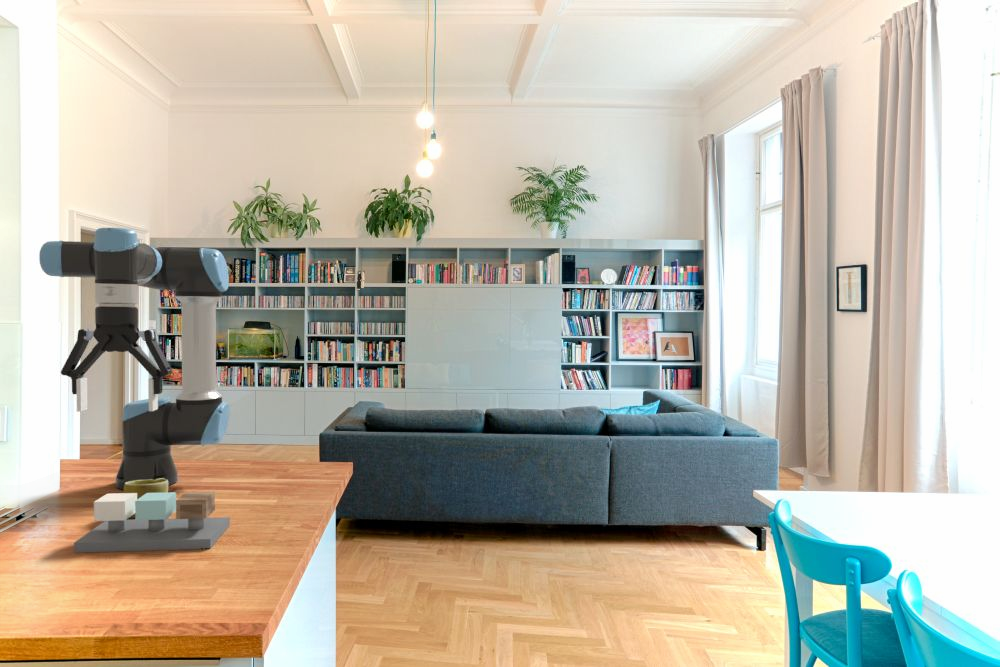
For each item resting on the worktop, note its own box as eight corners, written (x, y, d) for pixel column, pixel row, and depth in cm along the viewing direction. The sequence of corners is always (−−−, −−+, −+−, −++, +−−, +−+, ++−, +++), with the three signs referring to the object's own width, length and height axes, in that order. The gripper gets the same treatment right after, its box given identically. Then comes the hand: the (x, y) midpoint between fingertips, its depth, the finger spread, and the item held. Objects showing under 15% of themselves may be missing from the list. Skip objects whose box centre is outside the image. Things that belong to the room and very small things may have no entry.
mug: (151, 516, 150) (146, 472, 152) (114, 527, 152) (109, 483, 154) (190, 511, 162) (184, 470, 164) (154, 521, 164) (149, 480, 166)
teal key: (147, 511, 144) (146, 492, 144) (176, 510, 145) (176, 492, 145) (135, 520, 138) (135, 500, 138) (166, 519, 139) (165, 500, 139)
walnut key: (186, 510, 145) (185, 492, 145) (214, 509, 146) (214, 491, 146) (176, 519, 139) (176, 500, 139) (206, 518, 140) (206, 499, 140)
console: (106, 529, 147) (106, 505, 147) (229, 525, 150) (229, 503, 150) (74, 552, 133) (73, 526, 133) (210, 548, 136) (210, 523, 136)
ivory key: (107, 512, 143) (107, 493, 143) (137, 511, 144) (137, 492, 144) (94, 521, 137) (93, 501, 137) (125, 520, 138) (124, 501, 138)
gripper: (39, 304, 129) (41, 413, 130) (175, 306, 132) (175, 412, 133) (60, 304, 137) (62, 407, 138) (188, 306, 140) (188, 407, 141)
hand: (118, 410), depth 136 cm, fingers open, 13 cm apart
